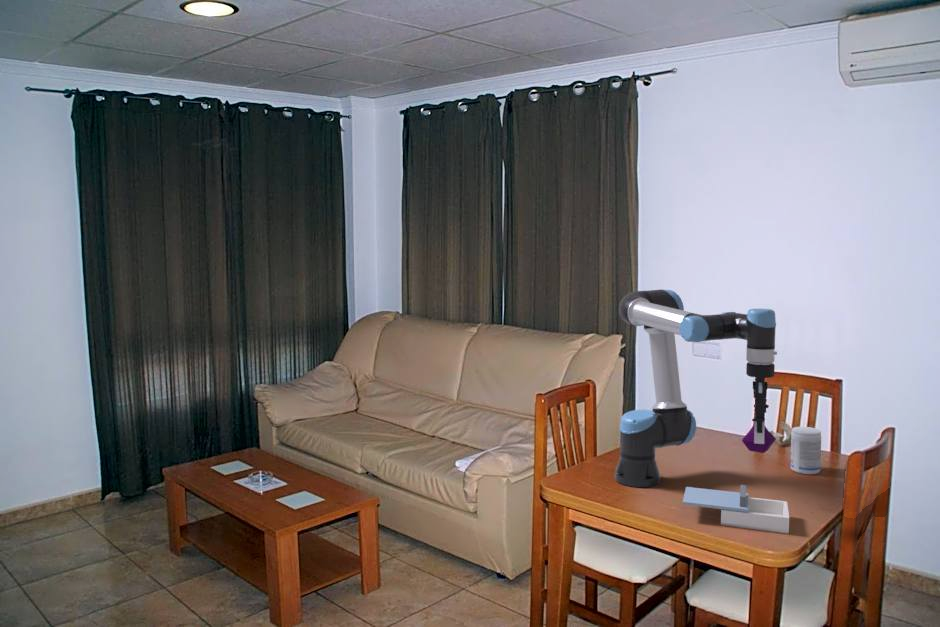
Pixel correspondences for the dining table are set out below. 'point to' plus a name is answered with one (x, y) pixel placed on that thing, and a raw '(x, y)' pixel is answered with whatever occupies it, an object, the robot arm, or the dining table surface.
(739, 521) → the storage box
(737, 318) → the robot arm
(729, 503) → the lid
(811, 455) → the supplement tub
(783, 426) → the beige irregular lump
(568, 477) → the dining table surface
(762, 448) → the perfume bottle
